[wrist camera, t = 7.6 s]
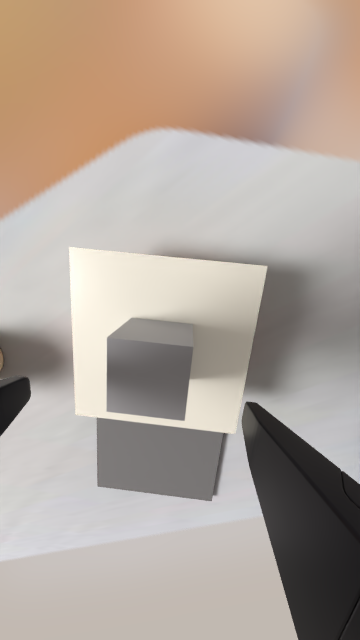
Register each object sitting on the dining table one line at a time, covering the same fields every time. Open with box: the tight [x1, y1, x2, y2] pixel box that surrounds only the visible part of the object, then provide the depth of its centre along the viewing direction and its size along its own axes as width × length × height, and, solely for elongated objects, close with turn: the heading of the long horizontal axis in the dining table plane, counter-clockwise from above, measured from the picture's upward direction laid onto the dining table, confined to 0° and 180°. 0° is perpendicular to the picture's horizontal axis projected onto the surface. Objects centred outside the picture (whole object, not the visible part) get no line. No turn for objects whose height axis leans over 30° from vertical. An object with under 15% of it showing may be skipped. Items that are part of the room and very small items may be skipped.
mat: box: [97, 417, 223, 501], centre depth 22 cm, size 13×13×1 cm
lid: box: [69, 247, 268, 434], centre depth 12 cm, size 12×12×5 cm
